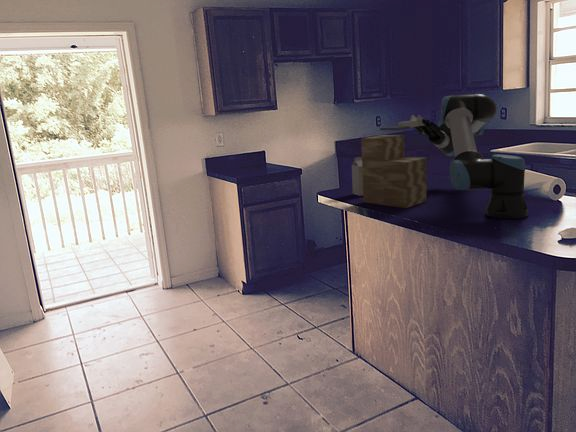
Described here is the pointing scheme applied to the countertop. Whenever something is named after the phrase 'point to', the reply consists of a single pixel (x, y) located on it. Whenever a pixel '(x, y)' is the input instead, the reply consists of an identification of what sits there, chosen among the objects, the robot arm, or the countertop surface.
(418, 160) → the oak step block
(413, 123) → the turner
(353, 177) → the milk carton
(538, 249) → the countertop surface
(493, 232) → the countertop surface
